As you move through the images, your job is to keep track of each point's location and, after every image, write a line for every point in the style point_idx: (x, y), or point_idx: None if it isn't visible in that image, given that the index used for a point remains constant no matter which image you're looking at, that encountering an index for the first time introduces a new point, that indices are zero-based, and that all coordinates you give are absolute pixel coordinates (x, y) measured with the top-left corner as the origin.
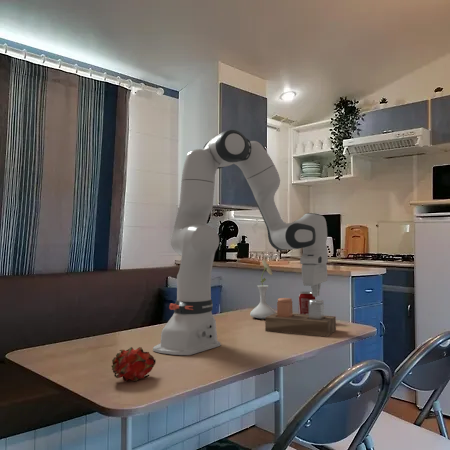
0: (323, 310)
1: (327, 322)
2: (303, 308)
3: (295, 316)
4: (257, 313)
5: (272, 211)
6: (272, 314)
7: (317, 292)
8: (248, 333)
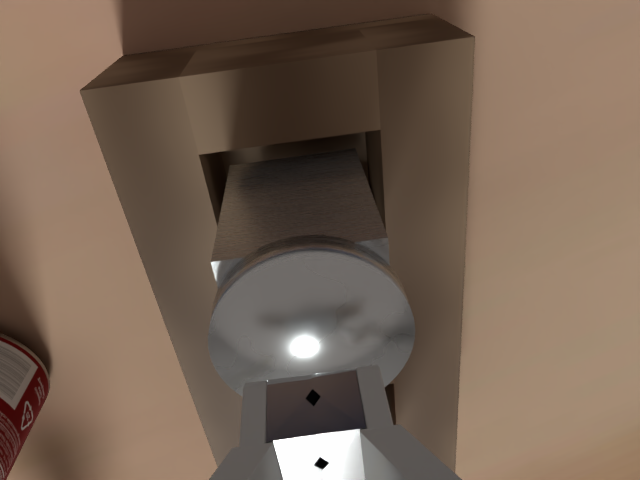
0: (241, 207)
1: (463, 36)
2: (2, 459)
3: None
4: None
5: None
6: None
7: (388, 411)
8: (522, 436)
